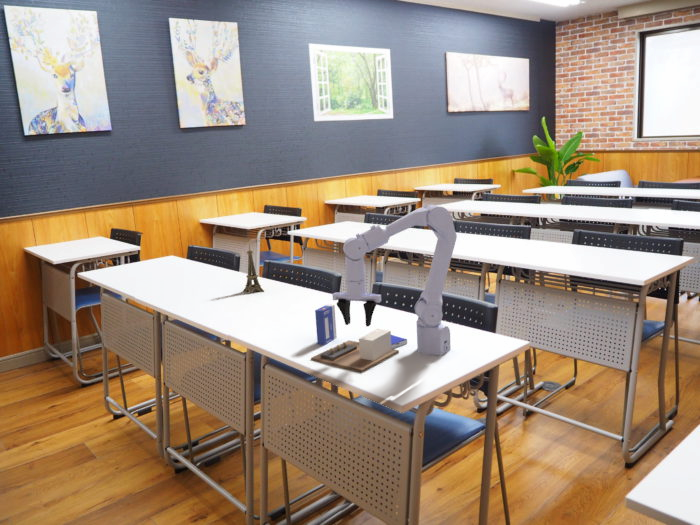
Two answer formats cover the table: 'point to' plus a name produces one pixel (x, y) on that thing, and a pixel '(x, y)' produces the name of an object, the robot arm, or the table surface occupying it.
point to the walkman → (325, 324)
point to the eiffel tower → (252, 276)
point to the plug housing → (375, 344)
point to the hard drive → (397, 341)
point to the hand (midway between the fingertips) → (358, 324)
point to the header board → (350, 357)
